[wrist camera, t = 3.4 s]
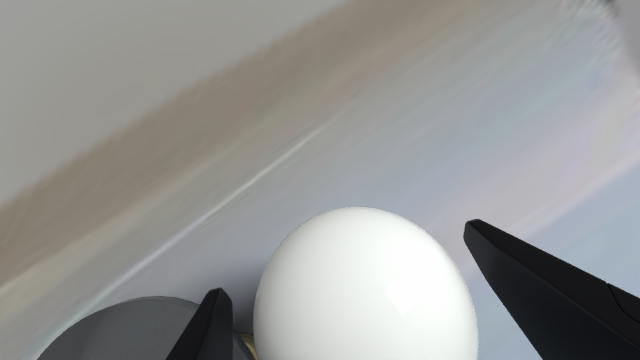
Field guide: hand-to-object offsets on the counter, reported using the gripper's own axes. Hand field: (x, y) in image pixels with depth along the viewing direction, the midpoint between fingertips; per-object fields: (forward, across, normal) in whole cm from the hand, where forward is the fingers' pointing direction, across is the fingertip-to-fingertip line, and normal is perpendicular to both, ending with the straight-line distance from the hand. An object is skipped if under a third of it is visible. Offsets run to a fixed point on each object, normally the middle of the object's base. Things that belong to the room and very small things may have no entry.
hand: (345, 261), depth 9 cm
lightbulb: (+4, 0, +6) cm, 7 cm away
